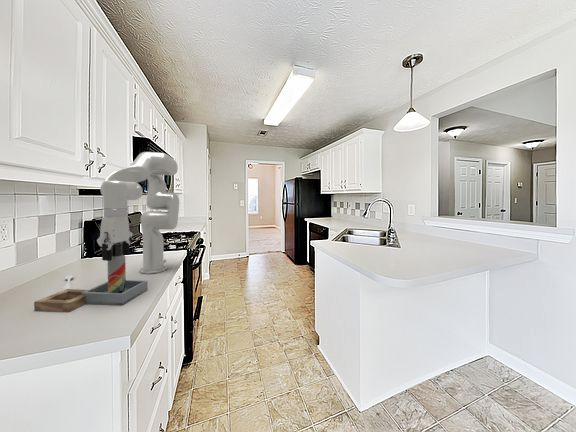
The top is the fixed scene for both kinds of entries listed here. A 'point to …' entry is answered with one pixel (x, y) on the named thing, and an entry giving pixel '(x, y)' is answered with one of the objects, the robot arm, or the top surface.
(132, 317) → the top surface
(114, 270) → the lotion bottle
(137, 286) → the tray
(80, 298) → the socket stand
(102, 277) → the top surface
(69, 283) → the fork
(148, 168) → the robot arm
